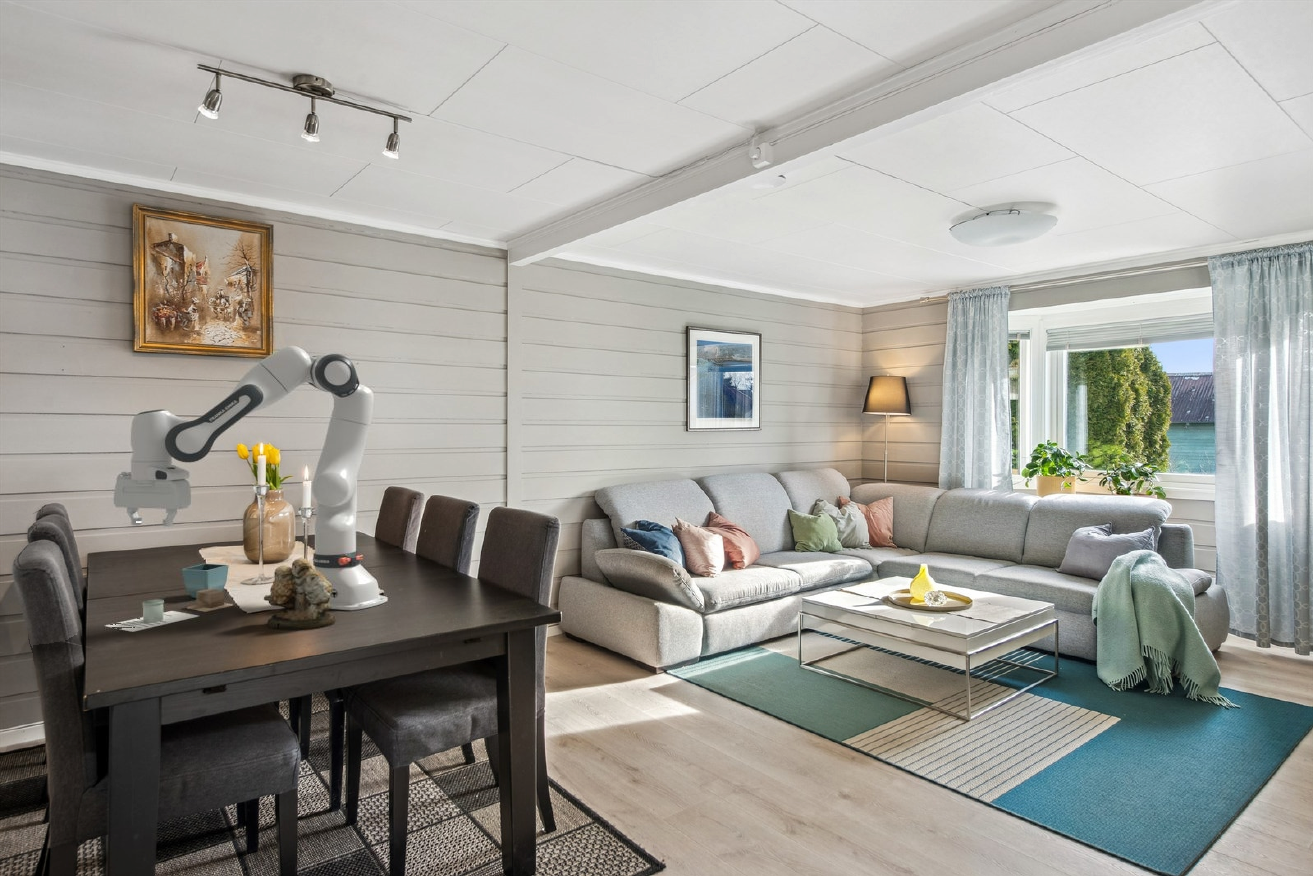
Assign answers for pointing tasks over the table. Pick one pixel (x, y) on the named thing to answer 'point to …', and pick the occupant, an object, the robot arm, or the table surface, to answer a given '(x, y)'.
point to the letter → (167, 618)
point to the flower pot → (205, 577)
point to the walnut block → (210, 598)
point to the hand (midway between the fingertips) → (152, 525)
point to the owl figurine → (300, 597)
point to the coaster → (208, 608)
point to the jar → (153, 611)
